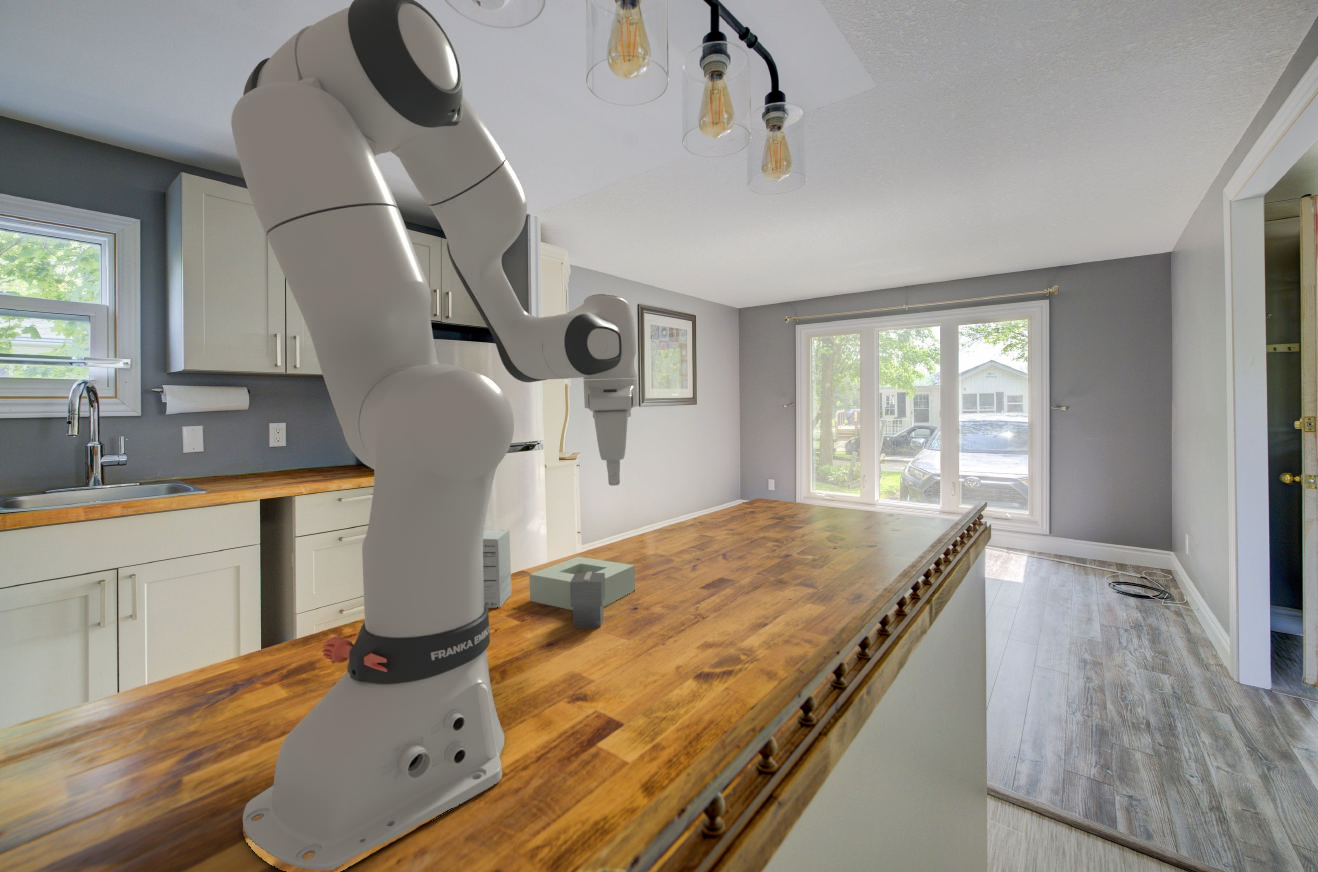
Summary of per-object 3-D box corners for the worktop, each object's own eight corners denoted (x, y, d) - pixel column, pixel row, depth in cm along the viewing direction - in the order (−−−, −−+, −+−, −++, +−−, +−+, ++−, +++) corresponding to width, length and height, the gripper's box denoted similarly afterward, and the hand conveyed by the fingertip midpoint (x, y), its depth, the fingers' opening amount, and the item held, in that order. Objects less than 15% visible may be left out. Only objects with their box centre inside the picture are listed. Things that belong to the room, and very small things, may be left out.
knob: (602, 628, 89) (601, 579, 88) (571, 628, 89) (570, 579, 88) (605, 616, 94) (604, 570, 93) (576, 616, 94) (575, 570, 93)
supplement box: (474, 595, 106) (472, 529, 105) (512, 594, 106) (510, 529, 105) (458, 608, 98) (456, 538, 98) (500, 608, 98) (498, 538, 98)
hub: (590, 614, 95) (589, 585, 94) (530, 600, 102) (529, 574, 102) (635, 590, 107) (634, 565, 106) (578, 580, 114) (577, 556, 114)
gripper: (594, 395, 101) (598, 469, 103) (588, 400, 81) (592, 492, 83) (629, 394, 102) (632, 468, 103) (631, 398, 82) (635, 490, 83)
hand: (614, 479), depth 93 cm, fingers open, 8 cm apart
